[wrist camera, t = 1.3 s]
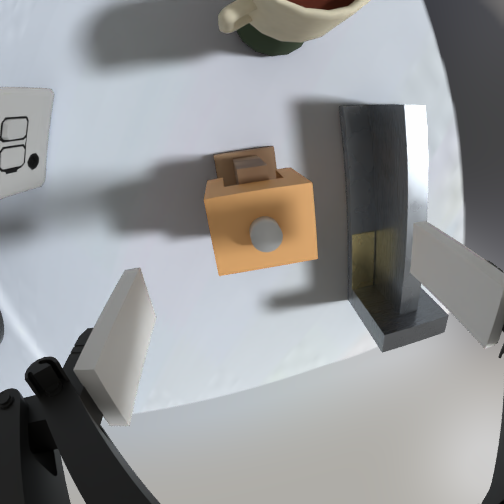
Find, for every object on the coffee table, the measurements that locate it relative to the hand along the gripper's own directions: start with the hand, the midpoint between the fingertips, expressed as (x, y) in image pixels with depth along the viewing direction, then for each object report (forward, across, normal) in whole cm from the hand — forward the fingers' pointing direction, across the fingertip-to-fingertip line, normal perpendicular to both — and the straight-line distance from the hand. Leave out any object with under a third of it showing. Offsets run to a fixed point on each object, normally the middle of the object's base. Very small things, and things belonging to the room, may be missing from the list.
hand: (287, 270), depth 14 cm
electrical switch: (+15, -20, +10) cm, 27 cm away
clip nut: (+11, 0, 0) cm, 11 cm away
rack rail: (+15, +12, -3) cm, 20 cm away
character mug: (+15, +4, +15) cm, 22 cm away
